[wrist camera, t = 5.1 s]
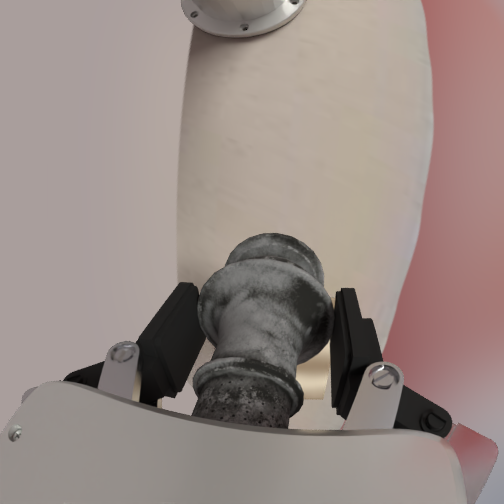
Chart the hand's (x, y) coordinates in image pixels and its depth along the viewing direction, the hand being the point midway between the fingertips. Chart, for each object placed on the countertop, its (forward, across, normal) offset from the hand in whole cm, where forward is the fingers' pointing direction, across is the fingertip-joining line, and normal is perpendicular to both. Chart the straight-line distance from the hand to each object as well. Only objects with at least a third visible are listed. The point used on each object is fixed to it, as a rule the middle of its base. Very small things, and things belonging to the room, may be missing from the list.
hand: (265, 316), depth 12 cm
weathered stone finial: (+3, 0, 0) cm, 3 cm away
